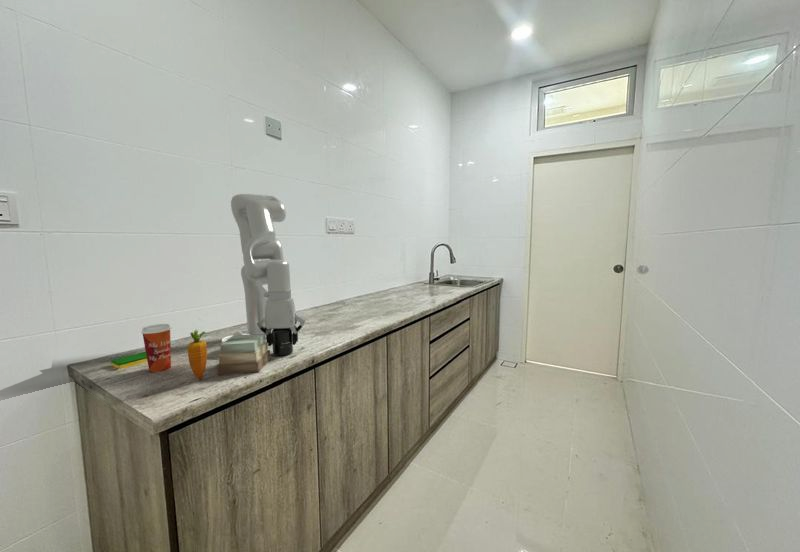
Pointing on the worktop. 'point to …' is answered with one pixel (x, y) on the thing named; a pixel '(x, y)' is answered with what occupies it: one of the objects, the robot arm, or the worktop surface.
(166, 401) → the worktop surface
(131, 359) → the dish sponge
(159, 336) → the paper cup
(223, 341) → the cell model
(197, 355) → the carrot
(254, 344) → the layered stepped block
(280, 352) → the supplement bottle
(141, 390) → the worktop surface
